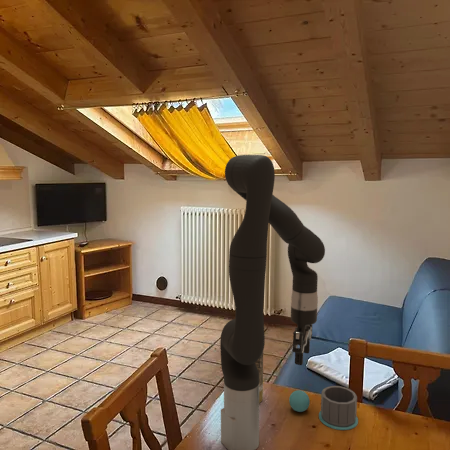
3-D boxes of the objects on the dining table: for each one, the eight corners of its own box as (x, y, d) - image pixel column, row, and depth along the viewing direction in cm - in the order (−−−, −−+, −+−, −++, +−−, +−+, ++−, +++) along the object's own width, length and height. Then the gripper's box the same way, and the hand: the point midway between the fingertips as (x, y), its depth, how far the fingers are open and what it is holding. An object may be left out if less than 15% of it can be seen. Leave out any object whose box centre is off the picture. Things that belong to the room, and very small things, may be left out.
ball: (297, 418, 124) (298, 399, 123) (284, 408, 129) (285, 389, 129) (313, 412, 127) (314, 393, 126) (300, 402, 132) (300, 384, 132)
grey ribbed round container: (338, 434, 117) (339, 409, 116) (310, 414, 126) (311, 391, 125) (366, 422, 122) (367, 398, 121) (338, 403, 132) (339, 381, 130)
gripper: (311, 314, 116) (309, 371, 118) (322, 299, 129) (319, 351, 131) (284, 310, 119) (283, 366, 121) (297, 296, 132) (295, 346, 134)
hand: (302, 358), depth 126 cm, fingers open, 8 cm apart
